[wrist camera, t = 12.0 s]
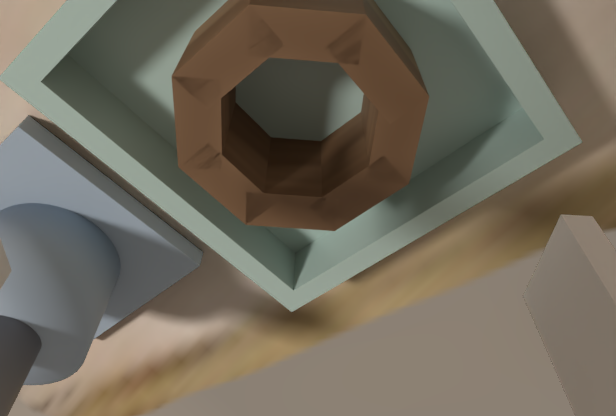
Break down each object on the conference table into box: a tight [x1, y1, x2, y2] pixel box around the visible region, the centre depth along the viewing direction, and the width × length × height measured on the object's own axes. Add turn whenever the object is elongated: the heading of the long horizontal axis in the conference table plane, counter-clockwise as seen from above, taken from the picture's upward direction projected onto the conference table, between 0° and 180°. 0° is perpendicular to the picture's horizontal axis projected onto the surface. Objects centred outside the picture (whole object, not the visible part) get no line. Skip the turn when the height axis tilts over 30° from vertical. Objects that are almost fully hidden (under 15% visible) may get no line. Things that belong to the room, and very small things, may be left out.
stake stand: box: [0, 115, 203, 416], centre depth 22 cm, size 10×10×13 cm
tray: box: [0, 0, 582, 312], centre depth 20 cm, size 15×14×3 cm
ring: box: [172, 0, 429, 231], centre depth 19 cm, size 8×8×4 cm
